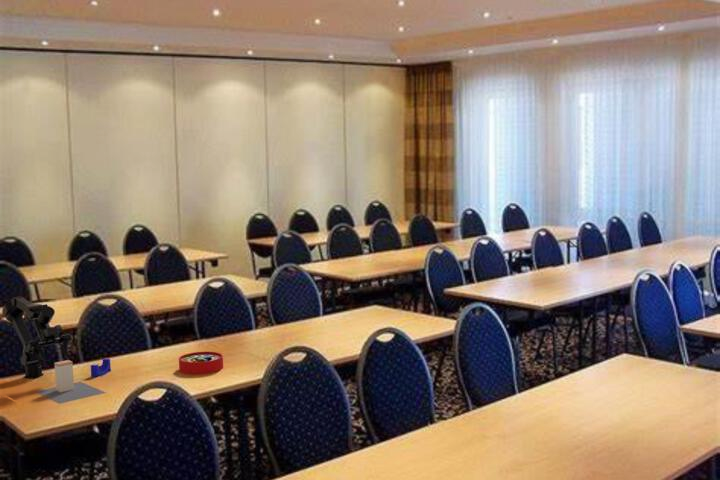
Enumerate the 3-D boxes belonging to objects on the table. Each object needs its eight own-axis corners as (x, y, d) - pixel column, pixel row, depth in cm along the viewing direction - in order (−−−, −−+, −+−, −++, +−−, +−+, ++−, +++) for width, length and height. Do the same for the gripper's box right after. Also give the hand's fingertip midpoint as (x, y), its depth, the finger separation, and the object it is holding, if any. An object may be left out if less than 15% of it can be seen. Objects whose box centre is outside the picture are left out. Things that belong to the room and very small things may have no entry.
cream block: (56, 390, 344) (54, 362, 343) (70, 387, 348) (68, 359, 347) (60, 392, 341) (58, 364, 340) (74, 389, 346) (72, 361, 344)
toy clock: (169, 357, 375) (205, 349, 389) (170, 370, 375) (205, 361, 390) (196, 364, 361) (231, 355, 376) (196, 377, 362) (232, 368, 377)
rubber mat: (35, 393, 343) (34, 391, 343) (80, 383, 357) (80, 381, 357) (59, 405, 326) (59, 403, 326) (106, 393, 340) (106, 392, 340)
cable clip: (101, 371, 376) (101, 358, 376) (110, 371, 376) (110, 358, 375) (88, 378, 365) (87, 365, 364) (97, 378, 364) (96, 365, 363)
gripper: (27, 323, 346) (40, 353, 340) (69, 315, 359) (82, 345, 353) (20, 337, 352) (32, 367, 346) (61, 330, 365) (74, 359, 359)
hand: (56, 359), depth 351 cm, fingers open, 9 cm apart
